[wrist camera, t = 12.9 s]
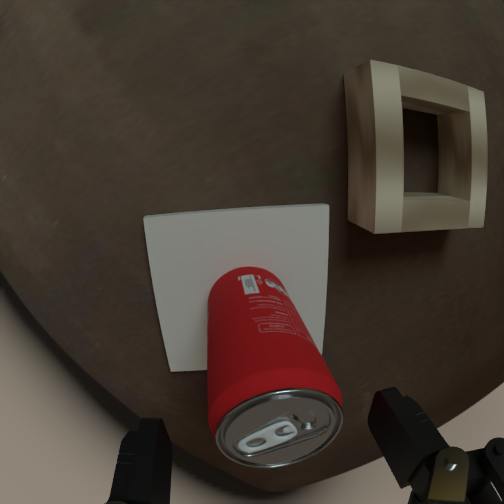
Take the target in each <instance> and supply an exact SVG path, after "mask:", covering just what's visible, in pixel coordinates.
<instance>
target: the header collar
mask: <svg viewBox="0 0 504 504" xmlns="http://www.w3.org/2000/svg"><path fill="white" fill-rule="evenodd" d="M344 86H345V100H346V117H347V141H348V221H350V222H352V223H354V224H356V225H358V226H360V227H362V228H364V229H366V230H368V231H370V232H372V233H374V234H381V233H396V232H412V231H428V230H445V229H462V228H480V227H483V226H484V217H485V205H486V191H487V125H486V111H485V100H484V92H482V91H480V90H477V89H475V88H472V87H469V86H466V85H464V84H461V83H458V82H455V81H452V80H449V79H446V78H443V77H439V76H436V75H433V74H429V73H426V72H422V71H418V70H414V69H411V68H407V67H402V66H398V65H394V64H389V63H384V62H379V61H374V60H369V61H367V62H365V63H363V64H361V65H359V66H358V67H356V68H354V69H352V70H350V71H349V72H347V73H345V74H344ZM402 108H404V109H410V110H416V111H421V112H426V113H431V114H436V115H437V124H438V193H422V192H403V187H404V141H403V117H402Z"/></svg>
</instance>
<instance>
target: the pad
mask: <svg viewBox="0 0 504 504" xmlns="http://www.w3.org/2000/svg"><path fill="white" fill-rule="evenodd" d="M143 219H144V228H145V236H146V243H147V250H148V257H149V264H150V270H151V277H152V283H153V289H154V294H155V300H156V305H157V310H158V316H159V321H160V326H161V330H162V335H163V340H164V344H165V349H166V353H167V358H168V362H169V366H170V370H171V372H173V371H195V370H207V311H208V297H209V293H210V291H211V288H212V287H213V285H214V284H215V282H216V281H217V280H218V279H219V278H220V277H221V276H222V275H224V274H225V273H227V272H229V271H231V270H233V269H235V268H239V267H245V266H252V267H259V268H263V269H265V270H268V271H269V272H271V273H273V274H274V275H275V276H276V277H277V278H278V279H279V280H280V281H281V282H282V284H283V286H284V287H285V289H286V291H287V293H288V295H289V297H290V298H291V300H292V302H293V304H294V306H295V308H296V309H297V311H298V313H299V315H300V317H301V319H302V320H303V322H304V324H305V326H306V328H307V330H308V332H309V333H310V335H311V337H312V339H313V341H314V343H315V344H316V346H317V348H318V350H319V352H320V354H321V356H322V347H323V335H324V322H325V308H326V292H327V272H328V245H329V205H327V204H301V205H281V206H262V207H246V208H231V209H217V210H204V211H192V212H180V213H169V214H158V215H148V216H145V217H144V218H143Z"/></svg>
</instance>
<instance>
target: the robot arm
mask: <svg viewBox="0 0 504 504" xmlns="http://www.w3.org/2000/svg"><path fill="white" fill-rule="evenodd" d="M368 426H369V429H370V431H371V433H372V435H373V437H374V439H375V440H376V442H377V444H378V446H379V448H380V450H381V452H382V454H383V456H384V457H385V459H386V461H387V463H388V465H389V467H390V469H391V471H392V472H393V475H394V476H395V478H396V480H397V482H398V484H399V486H400V488H401V489H402V488H404V487H407V486H409V485H411V487H412V489H413V490H412V491H411V494H410V498H409V501H408V504H504V438H494V439H492V440H490V441H489V442H488V443H487V445H486V446H485V448H482V449H477V450H473V451H467V452H465V451H464V450H462V449H460V448H458V447H450V446H449V445H448V444H447V443H446V441H445V440H444V438H443V437H442V436H441V434H440V433H439V431H438V430H437V429H436V427H435V426H434V424H433V423H432V422H431V420H429V418H428V416H427V415H426V413H424V411H423V409H422V408H421V407H420V405H419V404H418V403H417V402H416V401H415V400H413V399H412V398H410V397H408V396H405V397H403V396H402V395H401V394H400V392H399V391H398V390H397V388H395V387H391V388H388V389H384V390H381V391H377V392H376V393H375V395H374V398H373V402H372V405H371V409H370V412H369V415H368ZM172 454H173V453H172V445H171V441H170V438H169V435H168V433H167V430H166V427H165V425H164V422H163V420H162V418H141V420H140V424H139V429H138V431H129V432H128V433H127V434H126V436H125V437H124V438H123V439H122V441H121V445H120V450H119V455H118V459H117V464H116V469H115V473H114V478H113V483H112V488H111V493H110V497H109V500H108V501H107V503H106V504H170V487H171V471H172V456H173V455H172ZM490 482H492V483H493V485H494V487H495V488H496V490H497V491H498V493H499V495H500V497H501V499H502V501H501V500H500V498H499V496H498V495H497V493H496V491H495V489H494V488H493V486H492V484H491V483H490Z"/></svg>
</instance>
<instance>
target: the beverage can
mask: <svg viewBox="0 0 504 504" xmlns="http://www.w3.org/2000/svg"><path fill="white" fill-rule="evenodd" d="M207 397H208V425H209V428H210V431H211V433H212V435H213V436H214V438H215V439H216V444H217V446H218V448H219V450H220V451H221V452H222V453H223V454H224V455H225V456H226V457H227V458H229V459H230V460H232V461H234V462H236V463H239V464H242V465H245V466H250V467H258V468H275V467H281V466H286V465H290V464H294V463H297V462H300V461H303V460H305V459H307V458H309V457H311V456H313V455H315V454H317V453H318V452H320V451H321V450H323V449H324V448H325V447H326V446H328V445H329V444H330V443H331V442H332V441H333V440H334V438H335V437H336V436H337V434H338V433H339V431H340V429H341V427H342V423H343V411H342V408H341V407H342V396H341V392H340V390H339V387H338V385H337V384H336V382H335V380H334V378H333V376H332V374H331V372H330V371H329V369H328V367H327V365H326V363H325V361H324V359H323V357H322V356H321V354H320V352H319V350H318V348H317V346H316V344H315V343H314V341H313V339H312V337H311V335H310V333H309V332H308V330H307V328H306V326H305V324H304V322H303V320H302V319H301V317H300V315H299V313H298V311H297V309H296V308H295V306H294V304H293V302H292V300H291V298H290V297H289V295H288V293H287V291H286V289H285V287H284V286H283V284H282V282H281V281H280V280H279V279H278V278H277V277H276V276H275V275H274V274H273V273H271V272H269V271H268V270H265V269H263V268H259V267H252V266H245V267H239V268H235V269H233V270H231V271H229V272H227V273H225V274H224V275H222V276H221V277H220V278H219V279H218V280H217V281H216V282H215V284H214V285H213V287H212V288H211V291H210V293H209V297H208V311H207Z"/></svg>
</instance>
